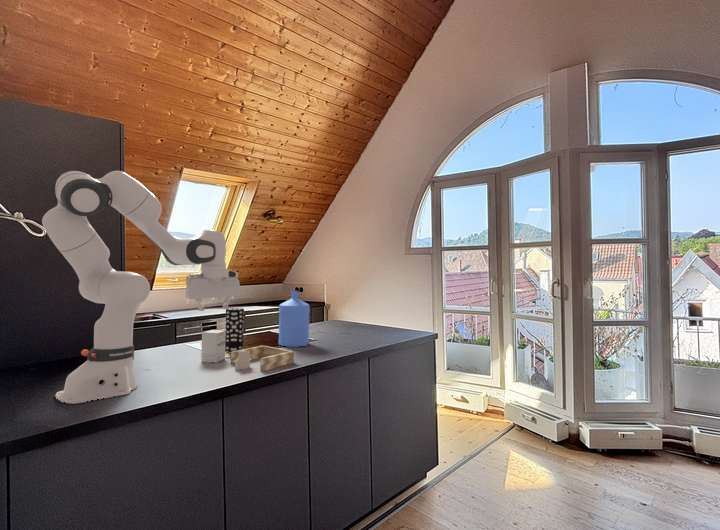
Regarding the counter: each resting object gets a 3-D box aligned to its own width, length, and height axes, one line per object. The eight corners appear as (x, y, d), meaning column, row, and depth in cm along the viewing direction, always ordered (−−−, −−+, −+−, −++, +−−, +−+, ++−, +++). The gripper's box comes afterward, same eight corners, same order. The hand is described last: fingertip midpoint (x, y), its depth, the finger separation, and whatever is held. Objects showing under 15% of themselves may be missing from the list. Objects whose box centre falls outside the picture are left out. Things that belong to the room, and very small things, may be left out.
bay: (262, 371, 165) (262, 358, 165) (230, 363, 176) (230, 351, 176) (294, 363, 179) (294, 351, 179) (263, 356, 190) (263, 345, 190)
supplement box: (216, 363, 177) (217, 333, 177) (200, 362, 178) (201, 332, 178) (225, 359, 184) (226, 330, 184) (210, 358, 185) (210, 329, 185)
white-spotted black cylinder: (247, 350, 202) (247, 309, 202) (233, 353, 195) (234, 310, 195) (235, 348, 207) (235, 307, 206) (221, 351, 200) (222, 309, 199)
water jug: (306, 348, 210) (307, 292, 210) (275, 347, 211) (276, 291, 210) (310, 342, 226) (311, 290, 226) (281, 341, 226) (282, 289, 226)
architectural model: (232, 370, 168) (232, 351, 168) (246, 366, 173) (247, 348, 173) (237, 371, 166) (238, 352, 166) (252, 368, 171) (252, 349, 171)
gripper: (189, 274, 149) (189, 312, 150) (242, 272, 164) (242, 308, 164) (182, 273, 154) (182, 311, 154) (234, 272, 168) (234, 306, 169)
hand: (213, 309), depth 159 cm, fingers open, 8 cm apart
